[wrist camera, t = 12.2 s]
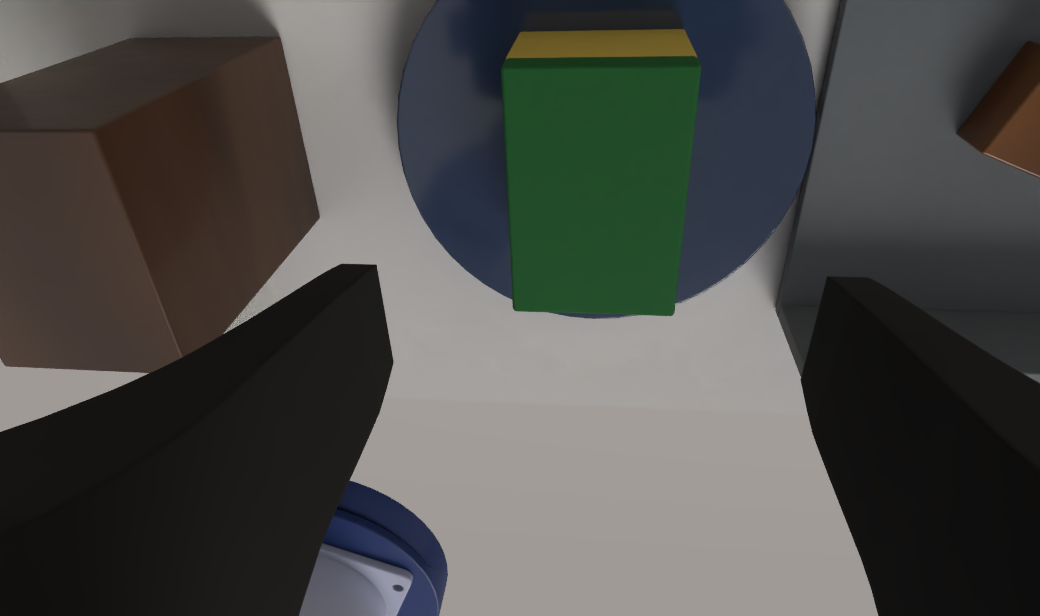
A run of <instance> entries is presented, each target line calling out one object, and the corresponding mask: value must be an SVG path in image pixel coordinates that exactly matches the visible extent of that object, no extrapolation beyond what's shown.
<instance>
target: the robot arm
mask: <svg viewBox="0 0 1040 616" xmlns="http://www.w3.org/2000/svg"><path fill="white" fill-rule="evenodd" d="M392 366H393V357H392V351H391V345H390V339H389V334H388V328H387V322H386V317H385V311H384V305H383V299H382V294H381V288H380V282H379V277H378V271H377V265H365V264H340V265H338V266H336V267H334V268H332V269H330V270H328V271H327V272H325V273H323V274H321V275H320V276H318V277H316V278H315V279H313V280H311V281H310V282H308V283H307V284H305V285H303V286H302V287H300V288H299V289H297V290H296V291H294V292H292V293H291V294H289V295H288V296H286V297H284V298H283V299H281V300H280V301H278V302H276V303H275V304H273V305H272V306H270V307H268V308H267V309H265V310H264V311H262V312H260V313H259V314H257V315H256V316H254V317H252V318H251V319H249V320H248V321H246V322H244V323H242V324H241V325H239V326H237V327H235V328H234V329H232V330H230V331H228V332H227V333H225V334H223V335H221V336H220V337H218V338H216V339H214V340H213V341H211V342H209V343H207V344H206V345H204V346H202V347H200V348H199V349H197V350H195V351H193V352H191V353H189V354H187V355H186V356H184V357H182V358H180V359H178V360H176V361H174V362H172V363H170V364H168V365H166V366H164V367H162V368H160V369H158V370H155V371H153V372H151V373H149V374H147V375H145V376H143V377H140V378H139V379H136V380H134V381H132V382H130V383H127V384H125V385H123V386H121V387H118V388H116V389H114V390H111V391H109V392H106V393H104V394H101V395H99V396H96V397H93V398H91V399H89V400H86V401H83V402H81V403H79V404H76V405H73V406H71V407H68V408H66V409H63V410H61V411H58V412H55V413H53V414H51V415H48V416H45V417H42V418H40V419H37V420H34V421H31V422H28V423H25V424H22V425H19V426H16V427H14V428H11V429H8V430H5V431H2V432H0V616H396V615H397V613H398V611H399V609H400V607H401V605H402V603H403V601H404V599H405V596H406V594H407V592H408V590H409V588H410V586H411V583H412V580H413V576H412V574H411V573H410V572H409V571H408V570H405V569H402V568H399V567H396V566H393V565H390V564H387V563H384V562H381V561H377V560H374V559H371V558H368V557H365V556H362V555H359V554H356V553H352V552H349V551H346V550H343V549H340V548H337V547H334V546H331V545H327V544H324V543H323V540H324V538H325V535H326V533H327V530H328V528H329V525H330V523H331V520H332V518H333V516H334V514H335V511H336V509H337V507H338V505H339V503H340V500H341V498H342V496H343V494H344V491H345V489H346V487H347V485H348V482H349V480H350V478H351V476H352V474H353V471H354V469H355V467H356V465H357V462H358V460H359V458H360V456H361V454H362V451H363V449H364V447H365V445H366V442H367V440H368V438H369V435H370V433H371V431H372V429H373V426H374V424H375V422H376V419H377V417H378V415H379V412H380V409H381V405H382V402H383V399H384V396H385V392H386V389H387V385H388V381H389V378H390V374H391V370H392ZM801 384H802V388H803V393H804V398H805V403H806V408H807V412H808V416H809V420H810V425H811V429H812V433H813V436H814V439H815V441H816V444H817V447H818V449H819V452H820V454H821V457H822V460H823V462H824V465H825V468H826V470H827V473H828V476H829V478H830V481H831V483H832V486H833V488H834V491H835V494H836V496H837V499H838V501H839V504H840V506H841V509H842V511H843V514H844V516H845V519H846V522H847V524H848V526H849V529H850V532H851V534H852V537H853V539H854V542H855V545H856V547H857V549H858V552H859V555H860V557H861V560H862V563H863V565H864V569H865V572H866V575H867V577H868V580H869V583H870V586H871V590H872V593H873V597H874V601H875V605H876V608H877V612H878V616H1040V383H1038V382H1037V381H1035V380H1033V379H1032V378H1030V377H1028V376H1026V375H1025V374H1023V373H1021V372H1019V371H1018V370H1016V369H1014V368H1012V367H1011V366H1009V365H1008V364H1006V363H1004V362H1003V361H1001V360H999V359H998V358H996V357H994V356H993V355H991V354H990V353H988V352H986V351H985V350H983V349H982V348H980V347H978V346H977V345H975V344H974V343H972V342H970V341H969V340H967V339H966V338H964V337H963V336H961V335H960V334H958V333H957V332H955V331H953V330H952V329H950V328H949V327H947V326H946V325H944V324H943V323H941V322H940V321H938V320H937V319H935V318H934V317H932V316H931V315H929V314H928V313H926V312H924V311H923V310H921V309H920V308H918V307H917V306H915V305H914V304H912V303H911V302H909V301H908V300H906V299H905V298H903V297H901V296H900V295H898V294H897V293H895V292H894V291H892V290H890V289H889V288H887V287H885V286H884V285H882V284H880V283H878V282H877V281H875V280H873V279H871V278H869V277H835V276H827V278H826V282H825V286H824V290H823V294H822V298H821V302H820V306H819V310H818V314H817V317H816V321H815V325H814V329H813V333H812V337H811V341H810V345H809V349H808V353H807V357H806V361H805V365H804V368H803V372H802V376H801Z"/></svg>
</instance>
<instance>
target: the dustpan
mask: <svg viewBox="0 0 1040 616" xmlns="http://www.w3.org/2000/svg"><path fill="white" fill-rule="evenodd" d="M1027 41H1033V42H1036V43H1038V44H1040V0H841V4H840V9H839V14H838V18H837V23H836V28H835V32H834V37H833V42H832V47H831V51H830V56H829V61H828V65H827V70H826V75H825V79H824V84H823V89H822V94H821V98H820V103H819V108H818V112H817V117H816V122H815V128H814V135H813V142H812V149H811V153H810V156H809V160H808V163H807V167H806V170H805V174H804V178H803V183H802V188H801V193H800V197H799V202H798V207H797V211H796V216H795V221H794V226H793V230H792V235H791V240H790V244H789V249H788V254H787V258H786V263H785V268H784V273H783V277H782V282H781V287H780V291H779V296H778V301H777V306H776V310H775V311H776V314H777V316H778V318H779V321H780V324H781V326H782V329H783V331H784V334H785V337H786V339H787V342H788V344H789V347H790V350H791V352H792V355H793V357H794V360H795V363H796V365H797V368H798V371H799V373H800V376H802V372H803V368H804V365H805V361H806V357H807V353H808V349H809V345H810V341H811V337H812V333H813V329H814V325H815V321H816V317H817V314H818V310H819V306H820V302H821V298H822V294H823V290H824V286H825V282H826V278H827V276H835V277H869V278H871V279H873V280H875V281H877V282H878V283H880V284H882V285H884V286H885V287H887V288H889V289H890V290H892V291H894V292H895V293H897V294H898V295H900V296H901V297H903V298H905V299H906V300H908V301H909V302H911V303H912V304H914V305H915V306H917V307H918V308H920V309H921V310H923V311H924V312H926V313H928V314H929V315H931V316H932V317H934V318H935V319H937V320H938V321H940V322H941V323H943V324H944V325H946V326H947V327H949V328H950V329H952V330H953V331H955V332H957V333H958V334H960V335H961V336H963V337H964V338H966V339H967V340H969V341H970V342H972V343H974V344H975V345H977V346H978V347H980V348H982V349H983V350H985V351H986V352H988V353H990V354H991V355H993V356H994V357H996V358H998V359H999V360H1001V361H1003V362H1004V363H1006V364H1008V365H1009V366H1011V367H1012V368H1014V369H1016V370H1018V371H1019V372H1021V373H1023V374H1025V375H1026V376H1028V377H1030V378H1032V379H1033V380H1035V381H1037V382H1038V383H1040V179H1039V178H1037V177H1035V176H1032V175H1030V174H1028V173H1025V172H1023V171H1021V170H1018V169H1016V168H1014V167H1011V166H1009V165H1007V164H1004V163H1002V162H1000V161H997V160H995V159H993V158H990V157H988V156H986V155H983V154H982V153H980V152H979V151H978V150H976V149H975V148H974V147H972V146H971V145H970V144H968V143H967V142H966V141H964V140H963V139H962V138H960V137H959V136H958V135H957V134H956V133H957V131H958V130H959V129H960V127H961V126H962V125H963V123H964V122H965V121H966V119H967V118H968V117H969V116H970V114H971V113H972V112H973V110H974V109H975V108H976V107H977V105H978V104H979V103H980V101H981V100H982V99H983V98H984V96H985V95H986V94H987V92H988V91H989V90H990V89H991V87H992V86H993V85H994V83H995V82H996V81H997V79H998V78H999V77H1000V76H1001V74H1002V73H1003V72H1004V70H1005V69H1006V68H1007V67H1008V65H1009V64H1010V63H1011V61H1012V60H1013V59H1014V58H1015V56H1016V55H1017V54H1018V52H1019V51H1020V50H1021V49H1022V47H1023V46H1024V45H1025V43H1026V42H1027Z"/></svg>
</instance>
